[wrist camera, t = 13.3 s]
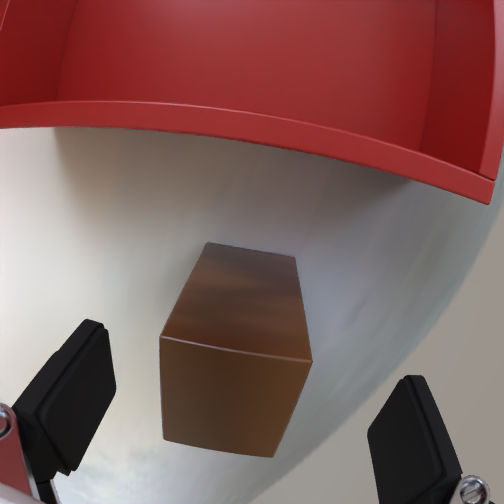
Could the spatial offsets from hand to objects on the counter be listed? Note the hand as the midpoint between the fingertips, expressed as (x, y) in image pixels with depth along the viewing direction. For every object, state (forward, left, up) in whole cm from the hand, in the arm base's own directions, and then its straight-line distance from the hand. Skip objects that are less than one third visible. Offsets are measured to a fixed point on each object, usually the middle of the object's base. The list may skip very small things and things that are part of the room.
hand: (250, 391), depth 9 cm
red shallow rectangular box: (+3, -14, -6) cm, 15 cm away
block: (+1, 0, -6) cm, 6 cm away
